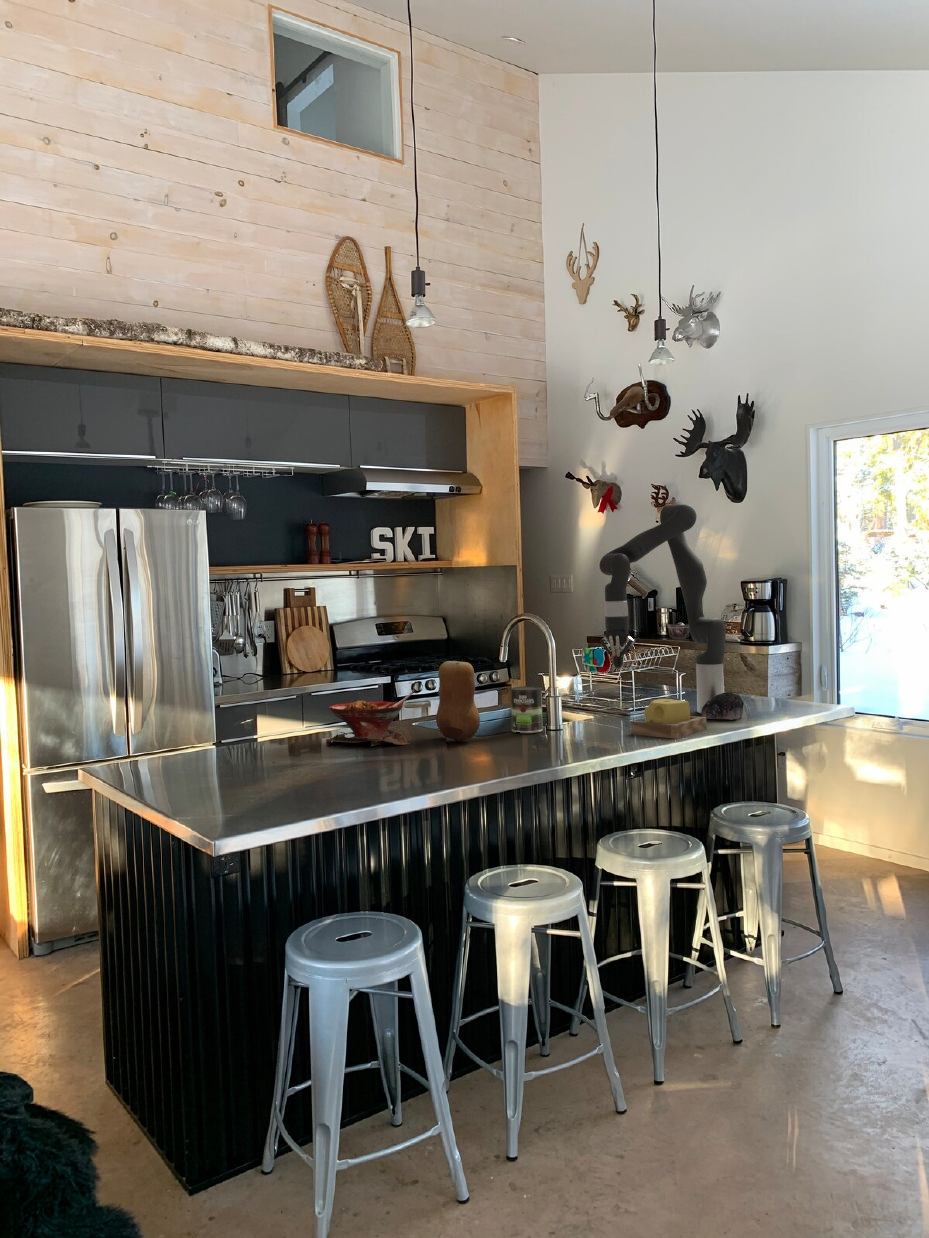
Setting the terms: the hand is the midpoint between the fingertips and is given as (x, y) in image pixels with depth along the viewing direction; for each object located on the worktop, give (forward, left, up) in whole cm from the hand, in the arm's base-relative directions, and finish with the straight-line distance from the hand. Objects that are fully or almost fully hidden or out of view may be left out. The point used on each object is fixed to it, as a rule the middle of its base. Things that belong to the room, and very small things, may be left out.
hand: (618, 667), depth 313 cm
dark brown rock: (-30, +22, -20) cm, 42 cm away
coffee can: (+20, -23, -20) cm, 36 cm away
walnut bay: (0, +18, -20) cm, 27 cm away
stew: (+63, -52, -20) cm, 84 cm away
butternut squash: (+45, -31, -20) cm, 58 cm away
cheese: (0, +17, -20) cm, 27 cm away
